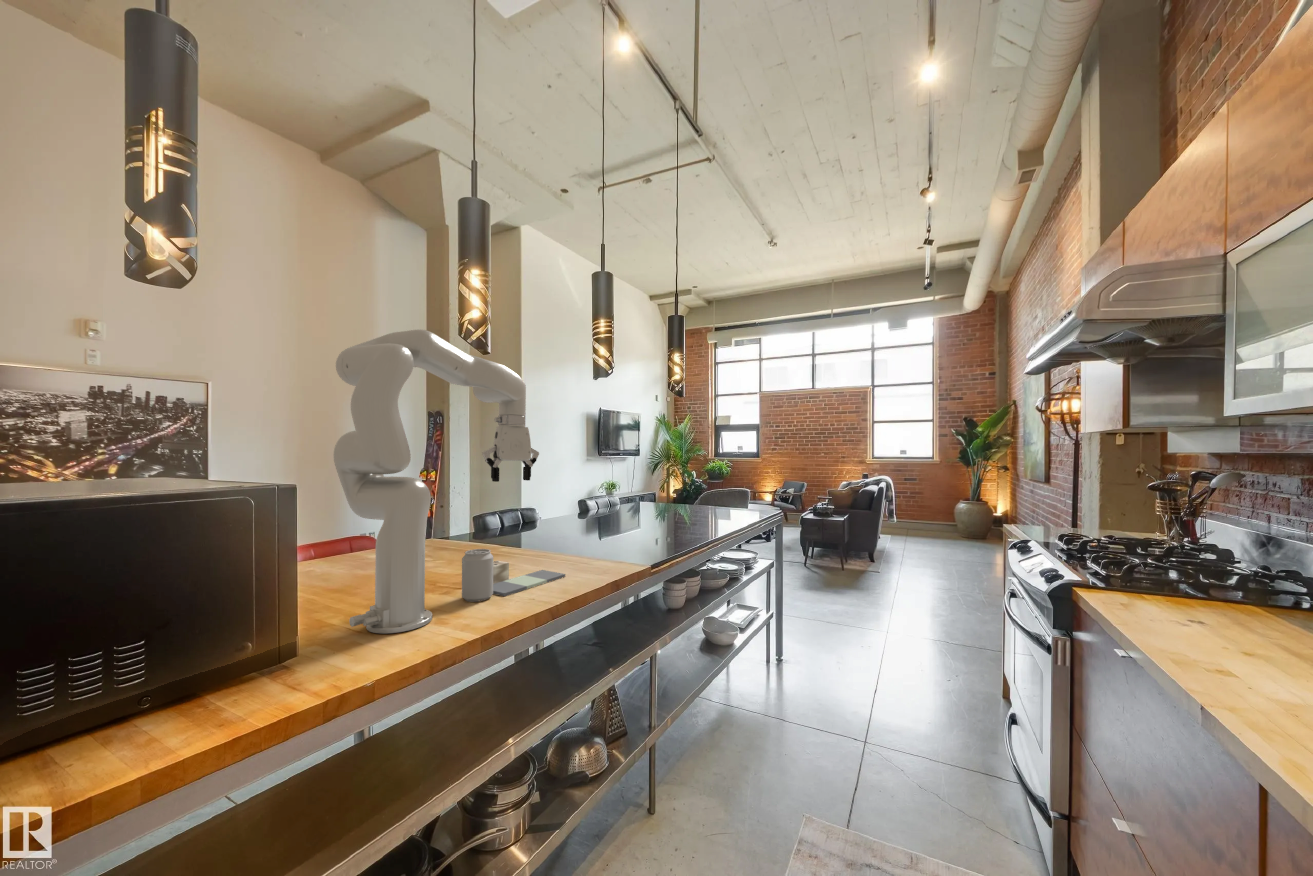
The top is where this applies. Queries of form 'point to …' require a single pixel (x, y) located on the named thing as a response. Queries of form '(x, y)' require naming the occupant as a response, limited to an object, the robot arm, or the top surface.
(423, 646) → the top surface
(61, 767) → the top surface
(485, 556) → the can
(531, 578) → the board
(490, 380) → the robot arm
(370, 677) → the top surface
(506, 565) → the die
